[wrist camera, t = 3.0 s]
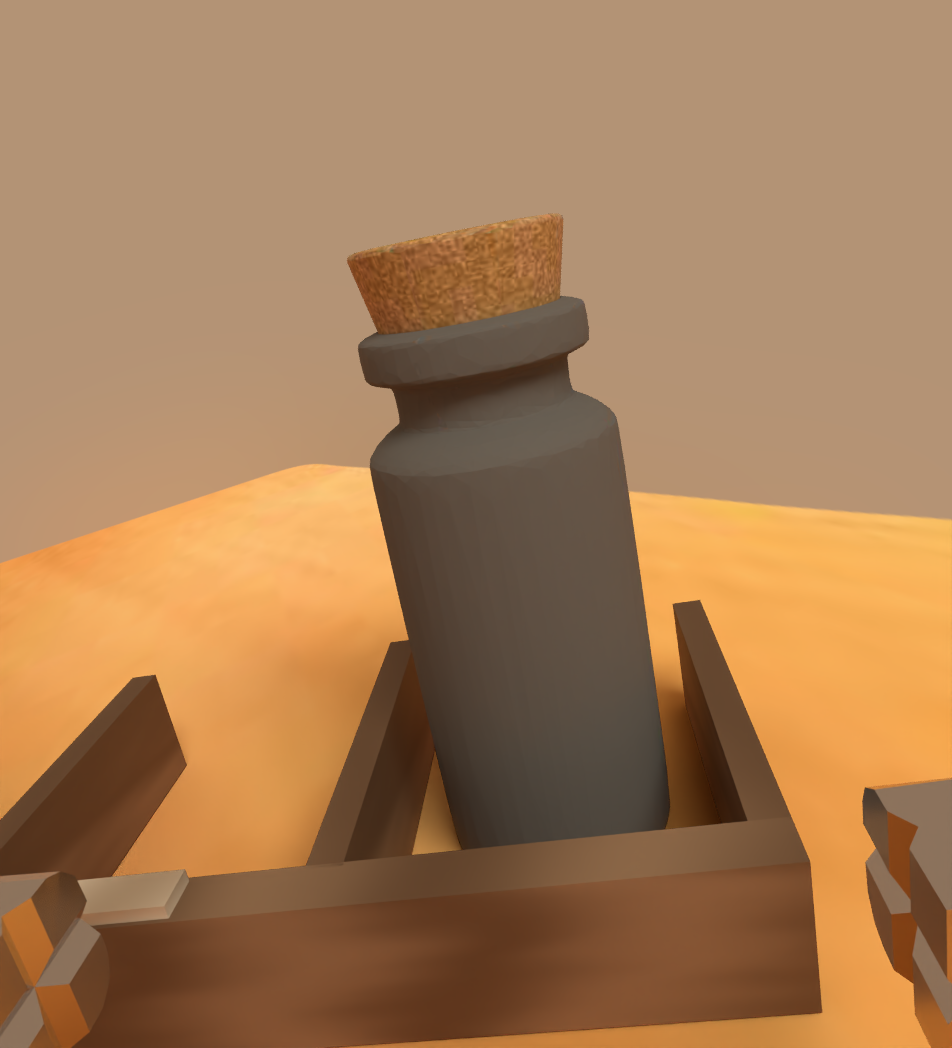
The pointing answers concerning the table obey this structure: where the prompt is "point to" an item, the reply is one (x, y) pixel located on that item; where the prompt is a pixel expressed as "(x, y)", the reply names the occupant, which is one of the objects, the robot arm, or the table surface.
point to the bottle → (511, 539)
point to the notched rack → (429, 895)
